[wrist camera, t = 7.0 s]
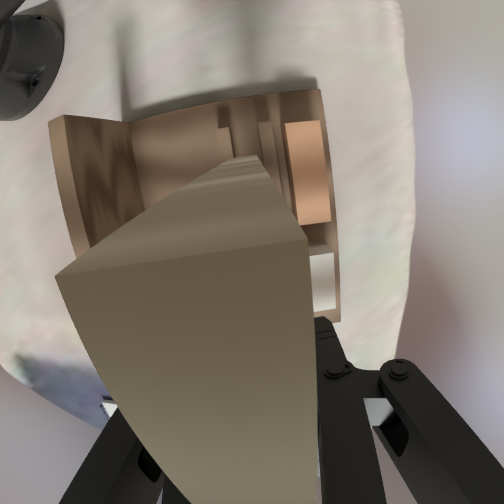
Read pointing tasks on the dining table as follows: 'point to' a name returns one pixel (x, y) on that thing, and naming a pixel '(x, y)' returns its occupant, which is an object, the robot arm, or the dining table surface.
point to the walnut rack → (176, 161)
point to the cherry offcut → (306, 171)
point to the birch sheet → (209, 336)
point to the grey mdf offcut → (322, 275)
